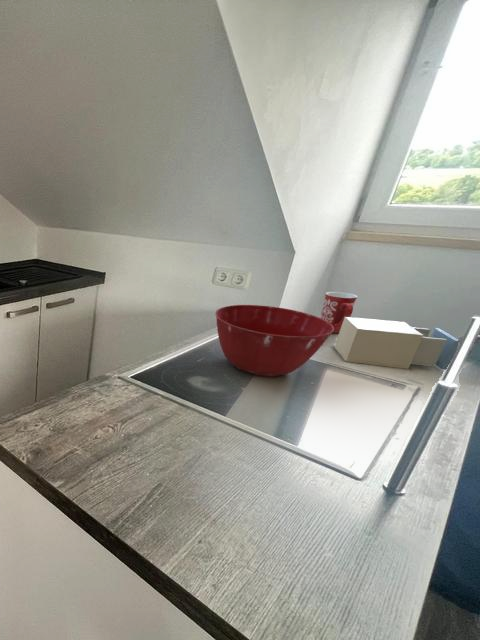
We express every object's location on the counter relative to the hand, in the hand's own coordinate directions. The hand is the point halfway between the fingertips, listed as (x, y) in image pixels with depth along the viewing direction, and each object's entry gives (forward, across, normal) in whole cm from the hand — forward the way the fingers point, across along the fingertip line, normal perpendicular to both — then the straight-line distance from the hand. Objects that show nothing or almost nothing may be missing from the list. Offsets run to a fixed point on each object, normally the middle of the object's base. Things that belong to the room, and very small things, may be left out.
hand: (479, 343), depth 110 cm
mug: (+27, +23, -8) cm, 36 cm away
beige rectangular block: (+22, -1, -8) cm, 24 cm away
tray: (+11, -1, -7) cm, 13 cm away
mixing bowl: (+54, -22, -8) cm, 59 cm away
